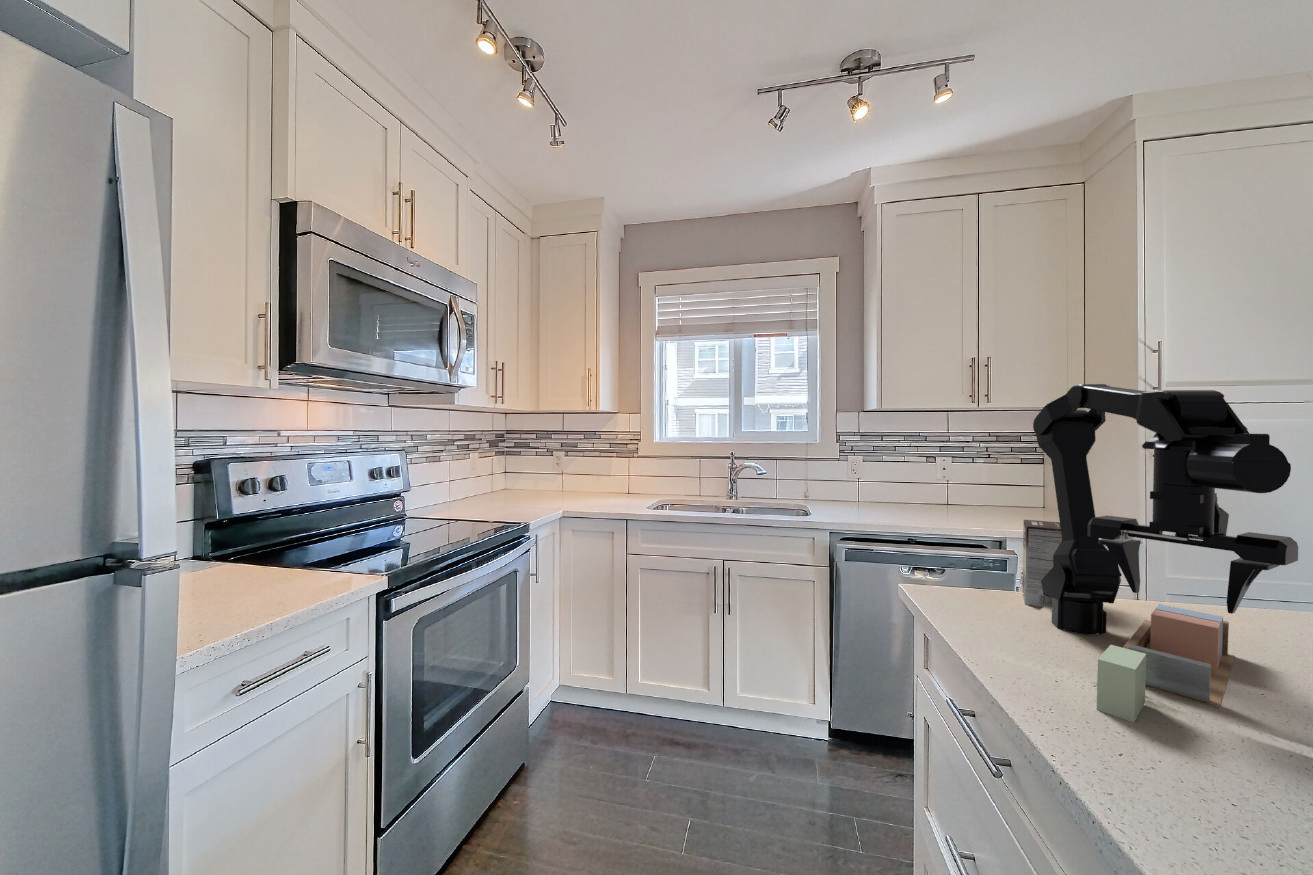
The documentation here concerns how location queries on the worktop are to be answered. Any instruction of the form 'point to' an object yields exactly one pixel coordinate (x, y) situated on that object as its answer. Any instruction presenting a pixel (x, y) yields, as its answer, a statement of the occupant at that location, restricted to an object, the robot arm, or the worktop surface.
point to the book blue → (1196, 615)
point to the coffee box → (1038, 558)
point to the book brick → (1186, 637)
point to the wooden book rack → (1217, 676)
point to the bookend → (1177, 674)
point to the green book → (1121, 682)
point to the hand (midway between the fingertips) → (1180, 601)
